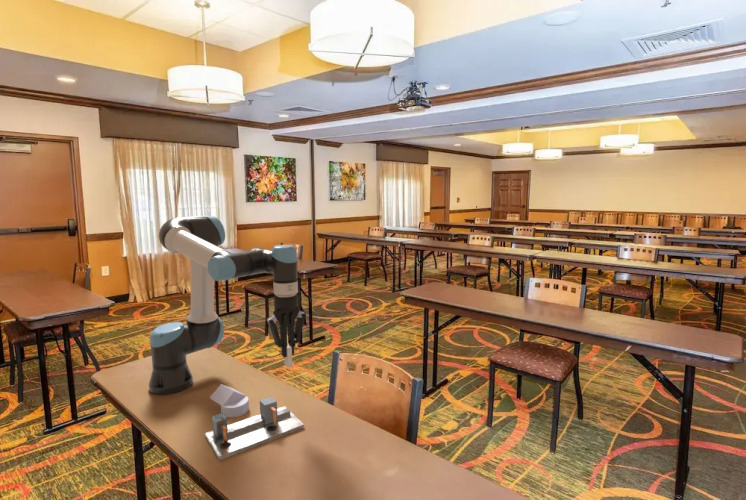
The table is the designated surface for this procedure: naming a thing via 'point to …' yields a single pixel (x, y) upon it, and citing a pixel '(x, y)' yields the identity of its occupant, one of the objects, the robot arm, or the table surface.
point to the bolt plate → (249, 432)
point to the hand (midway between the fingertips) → (288, 365)
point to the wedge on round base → (231, 401)
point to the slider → (269, 410)
